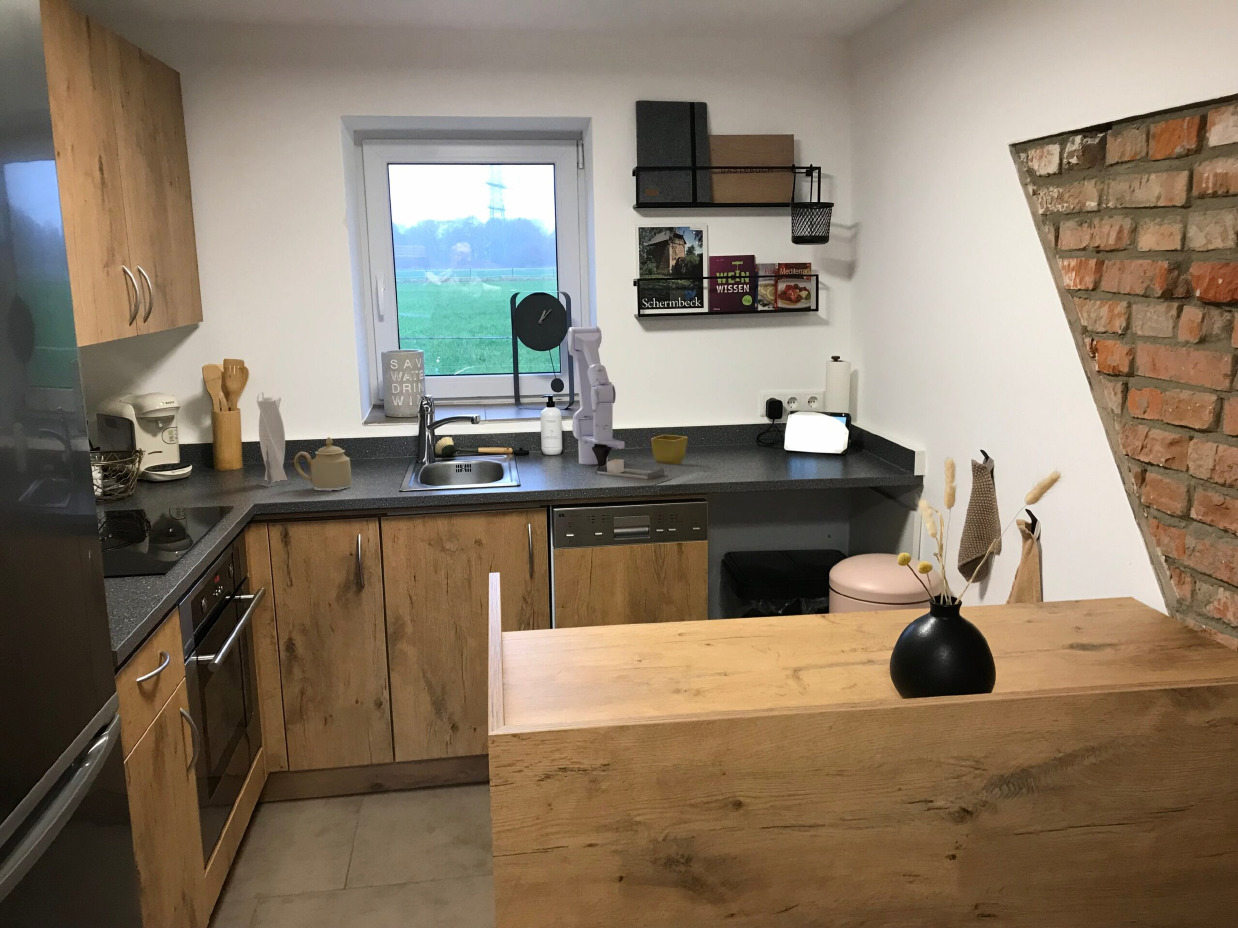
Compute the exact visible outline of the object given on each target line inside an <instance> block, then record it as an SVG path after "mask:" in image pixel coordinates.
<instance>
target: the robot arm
mask: <svg viewBox="0 0 1238 928" xmlns="http://www.w3.org/2000/svg"><path fill="white" fill-rule="evenodd" d="M602 340H603V337H602V330H601V328H600V327H599V326H597V325H596V326H579V327H573V326H571V327H569V328H568V330H567V349H568V352H569V353H568V354H569V356H572V357H573V358H574V361H575V370H576V381H577V387H578V398H579V400H578V401H579V409H578V410H577V411H575V413H574V414H573V416H572V427H571V428H572V434H573V436H574V438H575V439H577V440H578V441H577V442H578V443H577V444H578V445H577V446H578V463H579V464H580V465H597V466H602V465H606V464H607V461H609V459H608V458H609V455H610V452H611V450H612V448H615V449H616V448H617V449H620V450H621V449H625V441H624V440H618V439H614V438H613V427H614V426H613V417H614V416H613V414H614V413H613V407H614V406H613V405H614V404H615V402H616V398H617V397H616V395H617V394H616V388H615V385H614V384H613V382H611V381H610V379H609V375H608V373H607V372H608V371H607V369H606V366H605V365H603V364H601V357H600V352H599V350H600V347H601V343H602Z"/></svg>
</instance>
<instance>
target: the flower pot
mask: <svg viewBox="0 0 1238 928" xmlns="http://www.w3.org/2000/svg"><path fill="white" fill-rule="evenodd" d="M688 439H689V437H688V436H683V435H673V434H672V435H671V434H662V435H658V436H656V437H652V438H651V448H652V455H653V457H654V459H655V461H656V462H657V463H661V464H669V465H677V466H678V465H681V463H682V461H683V460H684V458H685V456H686V452H687V446H688Z"/></svg>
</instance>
